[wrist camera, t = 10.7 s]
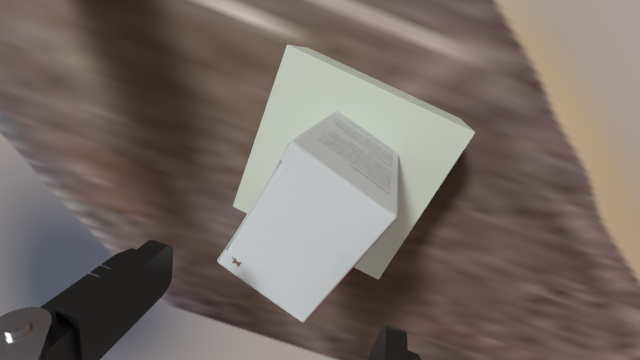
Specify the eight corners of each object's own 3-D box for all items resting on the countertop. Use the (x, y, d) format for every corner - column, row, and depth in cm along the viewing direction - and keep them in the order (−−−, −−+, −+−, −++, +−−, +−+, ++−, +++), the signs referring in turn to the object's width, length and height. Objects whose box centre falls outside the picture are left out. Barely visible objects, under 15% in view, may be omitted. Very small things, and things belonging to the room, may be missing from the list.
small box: (339, 229, 25) (302, 328, 16) (283, 189, 25) (212, 265, 16) (401, 152, 22) (402, 219, 13) (337, 107, 22) (289, 139, 13)
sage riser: (309, 48, 27) (287, 44, 21) (458, 117, 26) (475, 132, 21) (260, 182, 33) (232, 206, 27) (381, 242, 32) (378, 279, 26)
